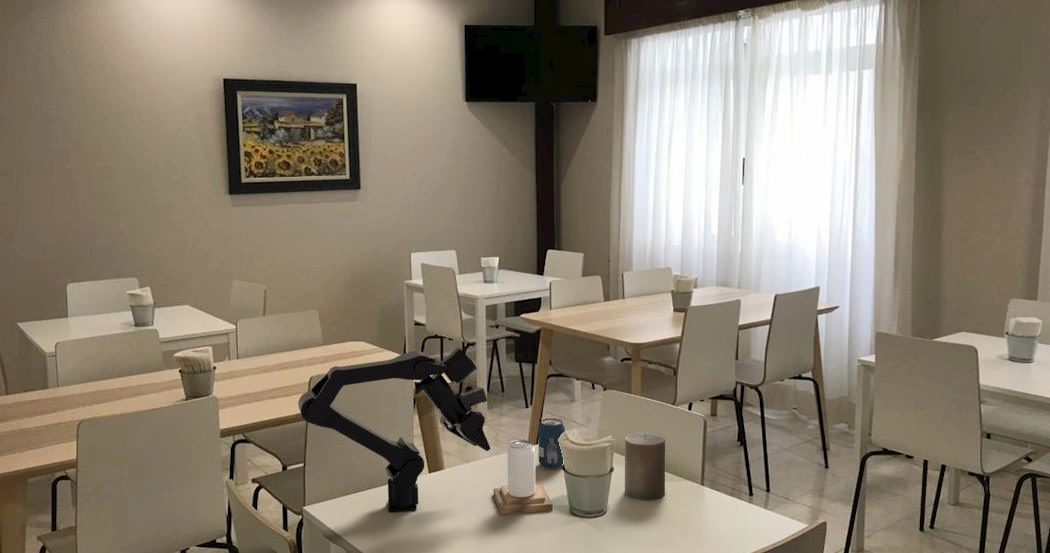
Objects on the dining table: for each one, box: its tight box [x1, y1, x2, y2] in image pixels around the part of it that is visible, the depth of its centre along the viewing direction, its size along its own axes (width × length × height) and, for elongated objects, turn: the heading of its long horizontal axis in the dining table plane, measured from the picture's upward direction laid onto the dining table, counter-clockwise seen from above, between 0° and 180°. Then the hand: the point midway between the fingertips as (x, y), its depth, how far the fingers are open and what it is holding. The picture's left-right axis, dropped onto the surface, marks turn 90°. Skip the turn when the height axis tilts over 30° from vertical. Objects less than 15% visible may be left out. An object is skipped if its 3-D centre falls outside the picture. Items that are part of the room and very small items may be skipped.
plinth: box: [493, 483, 554, 515], centre depth 202 cm, size 12×12×2 cm
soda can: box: [538, 418, 566, 470], centre depth 226 cm, size 7×7×12 cm
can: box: [507, 439, 536, 498], centre depth 200 cm, size 6×6×12 cm
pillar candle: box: [624, 432, 666, 501], centre depth 207 cm, size 10×10×15 cm
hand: (482, 447), depth 203 cm, fingers open, 9 cm apart
